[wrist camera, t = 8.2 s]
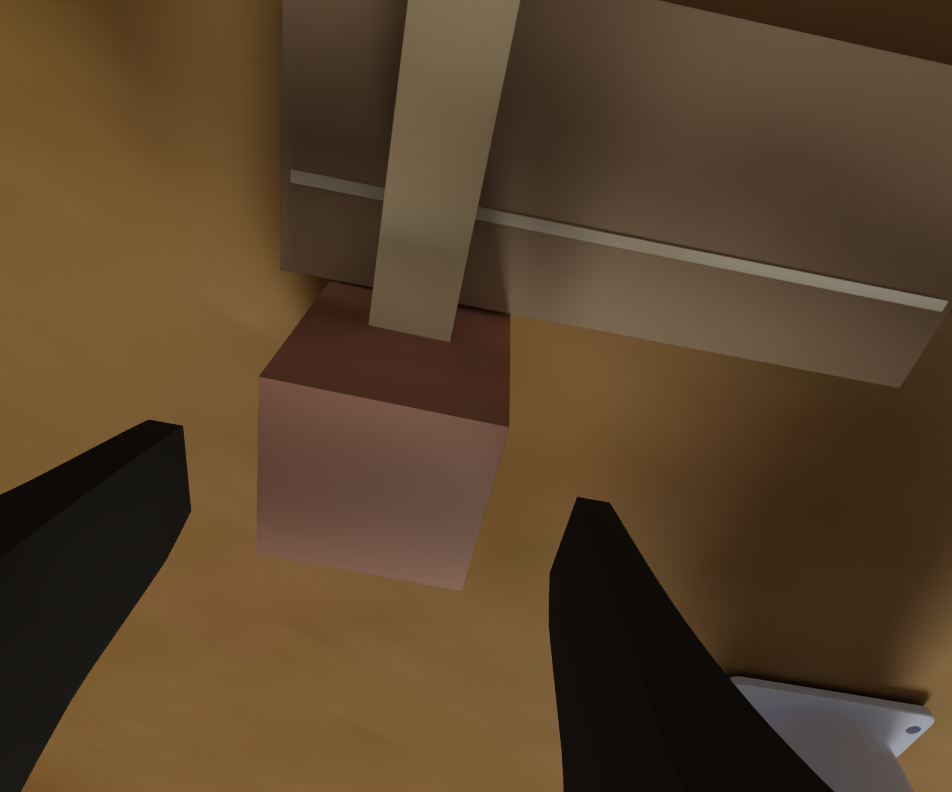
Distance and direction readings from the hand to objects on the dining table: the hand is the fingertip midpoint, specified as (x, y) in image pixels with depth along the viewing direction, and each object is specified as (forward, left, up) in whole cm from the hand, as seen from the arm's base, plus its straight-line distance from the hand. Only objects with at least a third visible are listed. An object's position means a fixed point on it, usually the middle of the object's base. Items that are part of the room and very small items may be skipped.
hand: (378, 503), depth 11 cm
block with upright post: (+4, 0, -6) cm, 7 cm away
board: (+6, -4, -6) cm, 9 cm away
